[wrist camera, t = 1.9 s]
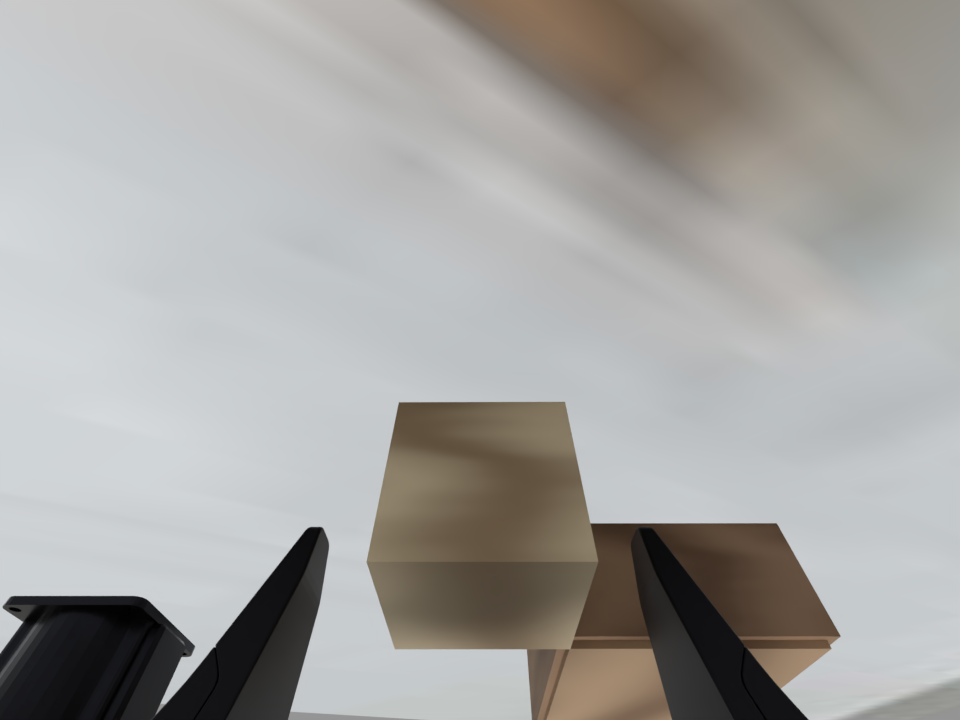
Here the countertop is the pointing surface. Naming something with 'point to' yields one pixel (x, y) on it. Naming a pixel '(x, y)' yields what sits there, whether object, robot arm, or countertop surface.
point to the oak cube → (482, 528)
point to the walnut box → (624, 637)
